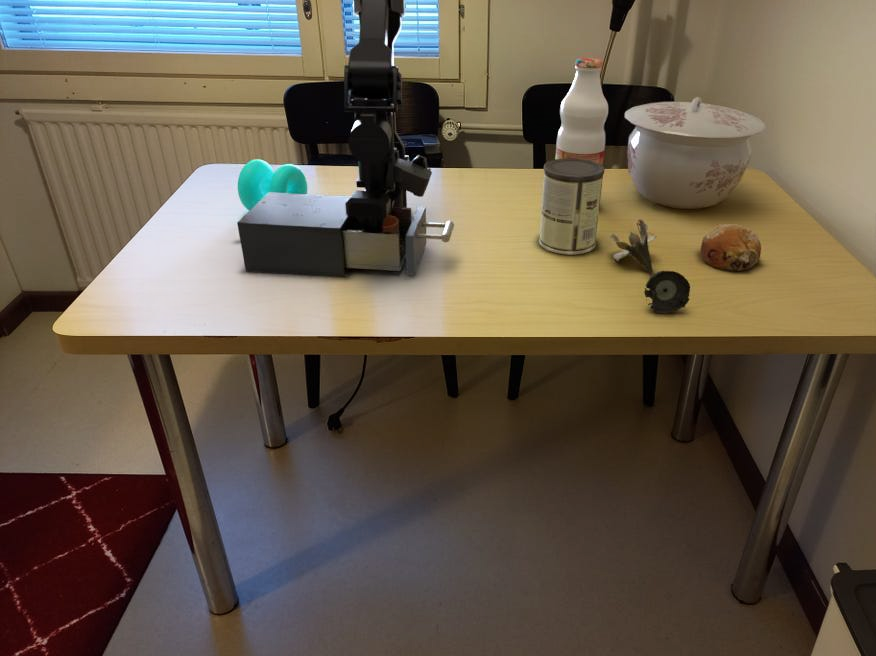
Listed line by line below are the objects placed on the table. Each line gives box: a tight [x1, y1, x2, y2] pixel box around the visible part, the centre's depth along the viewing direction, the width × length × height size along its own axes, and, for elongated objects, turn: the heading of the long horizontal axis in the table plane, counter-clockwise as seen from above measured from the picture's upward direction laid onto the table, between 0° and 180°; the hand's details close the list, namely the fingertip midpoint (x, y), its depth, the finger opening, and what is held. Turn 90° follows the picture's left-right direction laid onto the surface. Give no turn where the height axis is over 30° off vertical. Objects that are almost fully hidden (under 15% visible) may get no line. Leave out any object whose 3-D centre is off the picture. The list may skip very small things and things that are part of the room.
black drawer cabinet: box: [236, 192, 351, 278], centre depth 115 cm, size 16×14×8 cm
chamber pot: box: [624, 96, 767, 210], centre depth 141 cm, size 28×28×21 cm
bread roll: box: [700, 223, 762, 272], centre depth 119 cm, size 10×10×8 cm
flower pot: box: [362, 215, 399, 233], centre depth 114 cm, size 6×6×4 cm
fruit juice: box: [554, 57, 609, 166], centre depth 133 cm, size 9×9×28 cm
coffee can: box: [538, 158, 606, 256], centre depth 120 cm, size 10×10×14 cm
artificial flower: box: [610, 219, 691, 315], centre depth 110 cm, size 9×22×10 cm, turn 179°
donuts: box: [237, 158, 308, 212], centre depth 131 cm, size 10×10×10 cm
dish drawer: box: [342, 205, 455, 276], centre depth 114 cm, size 21×13×7 cm, turn 85°
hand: (381, 239), depth 114 cm, fingers closed on flower pot, 6 cm apart
